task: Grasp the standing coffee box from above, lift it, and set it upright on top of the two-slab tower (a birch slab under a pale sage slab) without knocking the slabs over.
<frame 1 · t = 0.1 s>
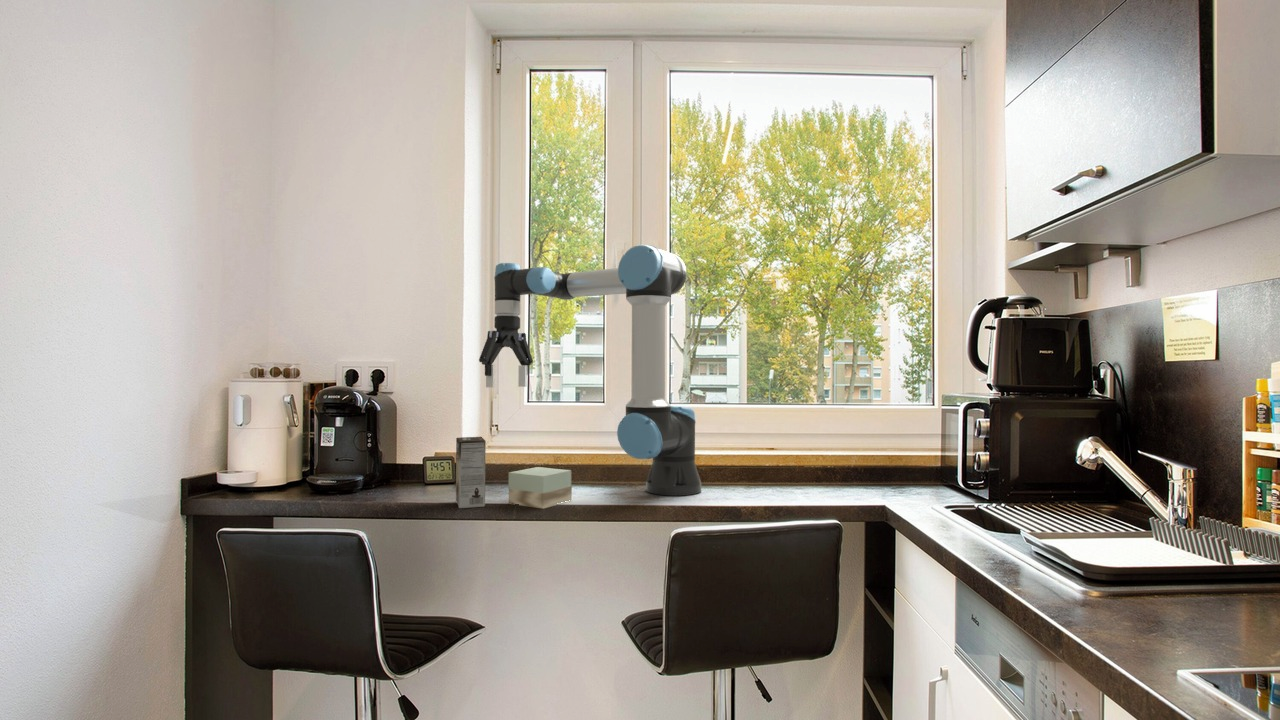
hand: (506, 387, 188), 28 cm above the worktop, tool pointing down, fingers open, 13 cm apart
slab bottom: (540, 503, 158), on the worktop, touching slab top
slab top: (540, 487, 158), point 4 cm above the worktop, touching slab bottom
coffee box: (470, 504, 155), on the worktop
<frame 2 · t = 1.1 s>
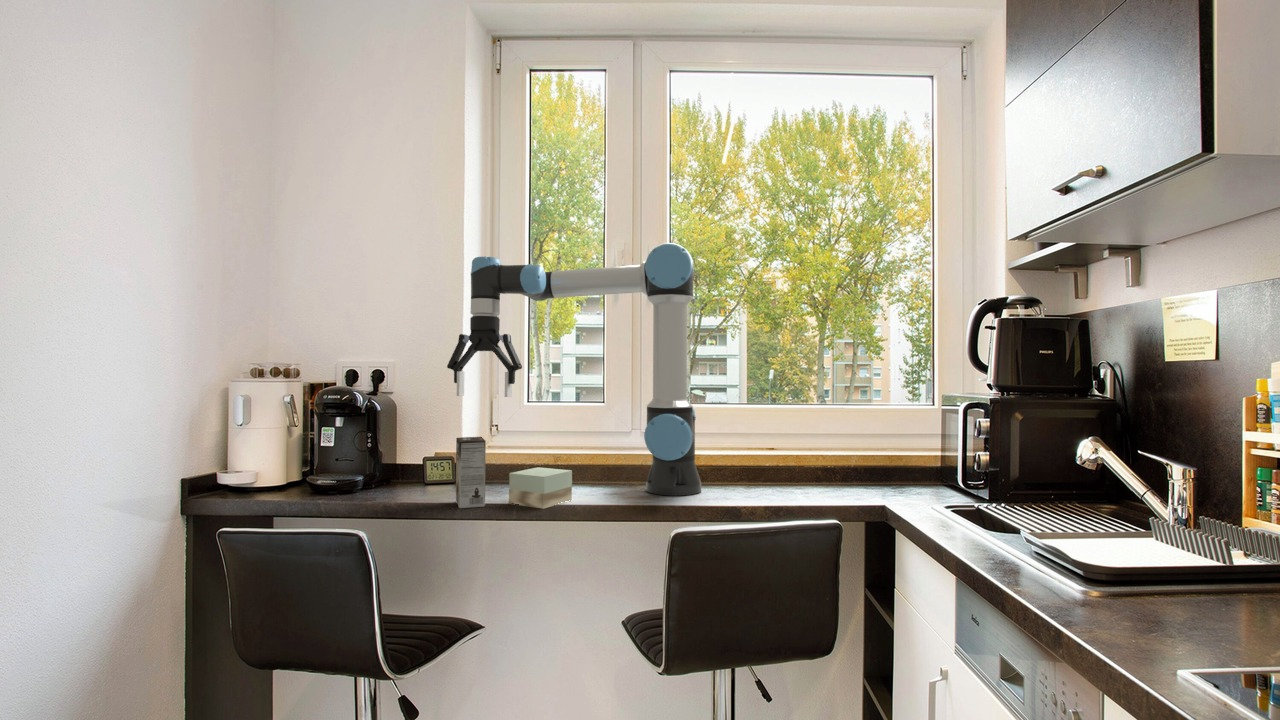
hand: (484, 396, 167), 26 cm above the worktop, tool pointing down, fingers open, 13 cm apart
nothing on the worktop moved.
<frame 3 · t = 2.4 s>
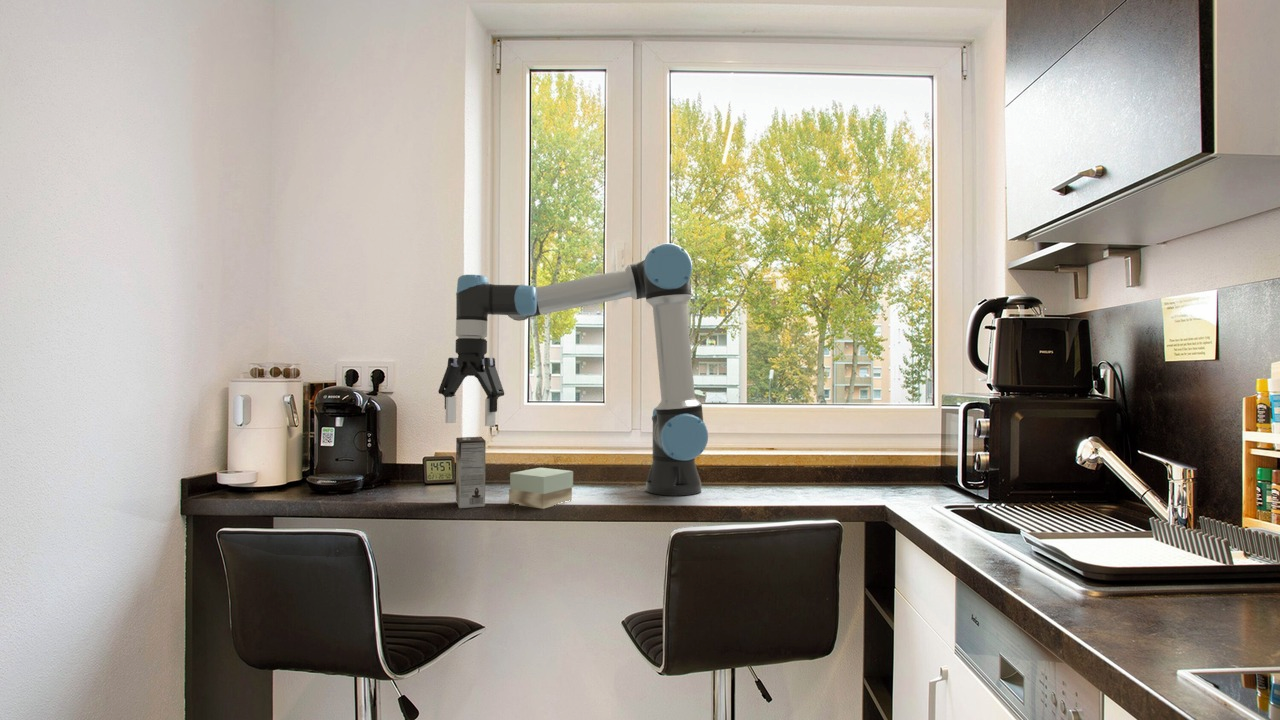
hand: (469, 424, 156), 19 cm above the worktop, tool pointing down, fingers open, 13 cm apart
nothing on the worktop moved.
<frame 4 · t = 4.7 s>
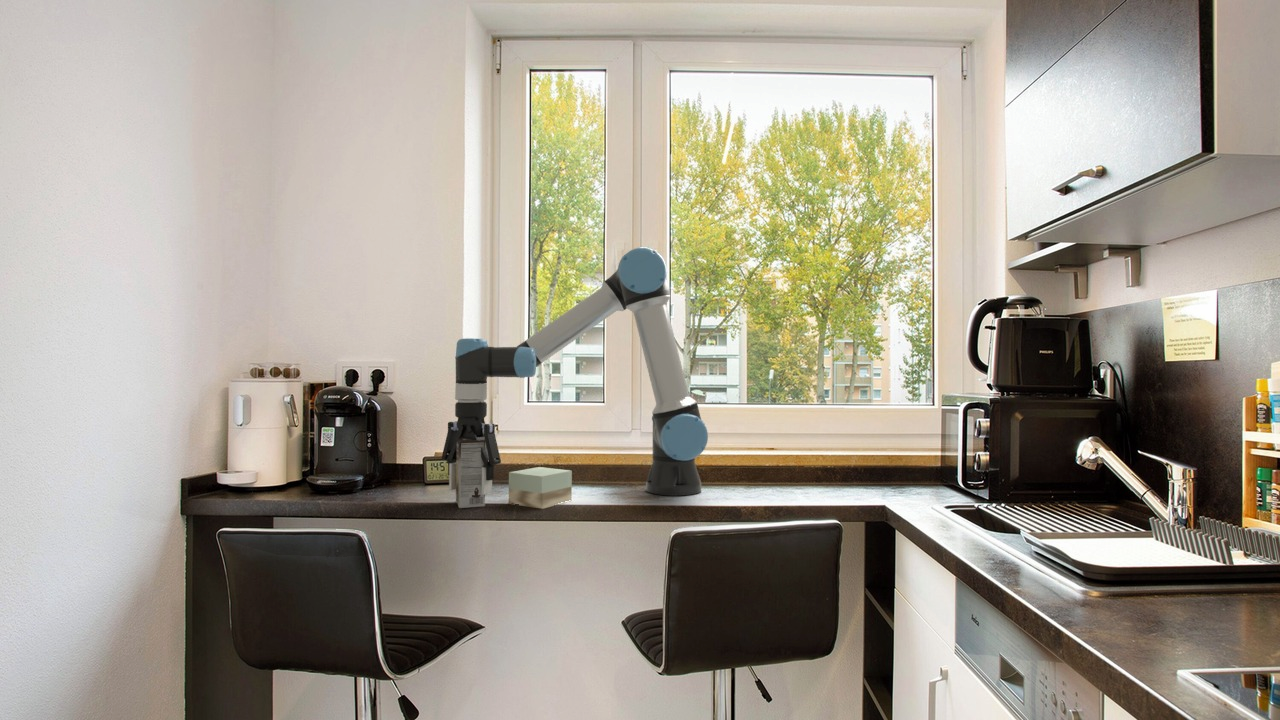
hand: (470, 491, 155), 3 cm above the worktop, tool pointing down, fingers closed on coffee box, 10 cm apart
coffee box: (470, 504, 155), on the worktop, touching gripper
everything else where it was.
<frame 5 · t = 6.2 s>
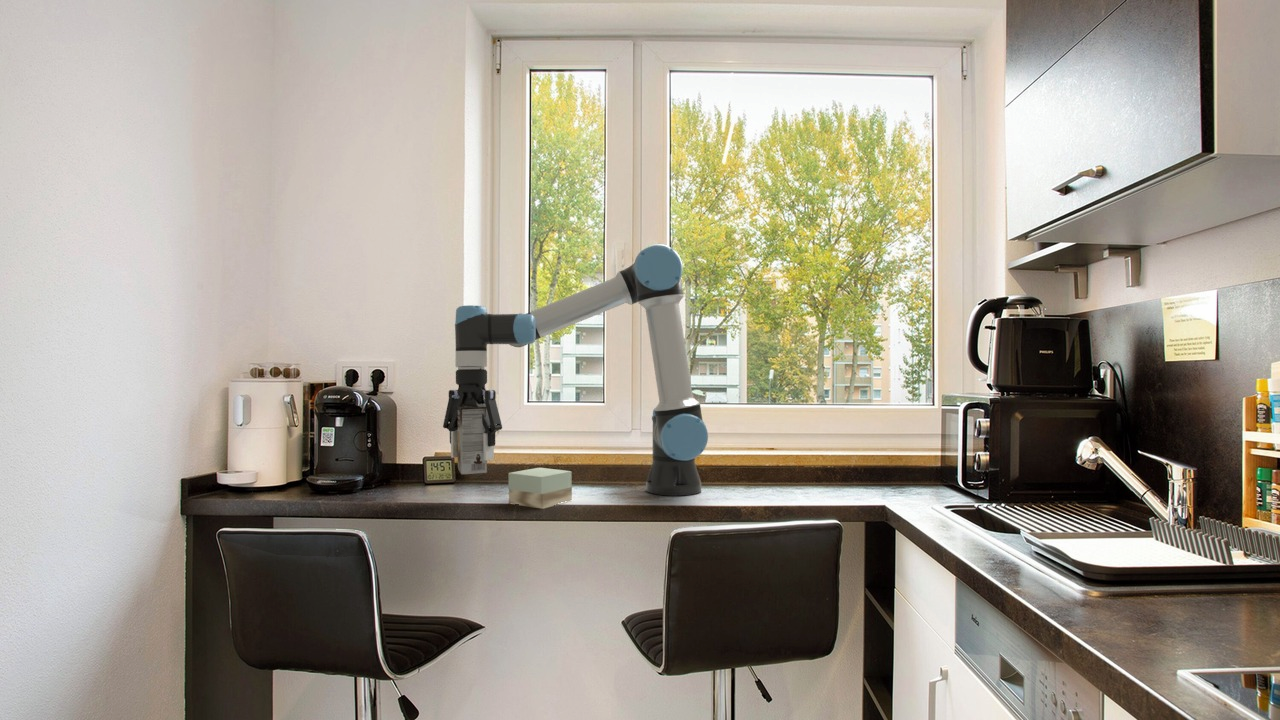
hand: (472, 458, 155), 11 cm above the worktop, tool pointing down, fingers closed on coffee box, 10 cm apart
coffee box: (472, 471, 155), point 8 cm above the worktop, touching gripper
everything else where it was.
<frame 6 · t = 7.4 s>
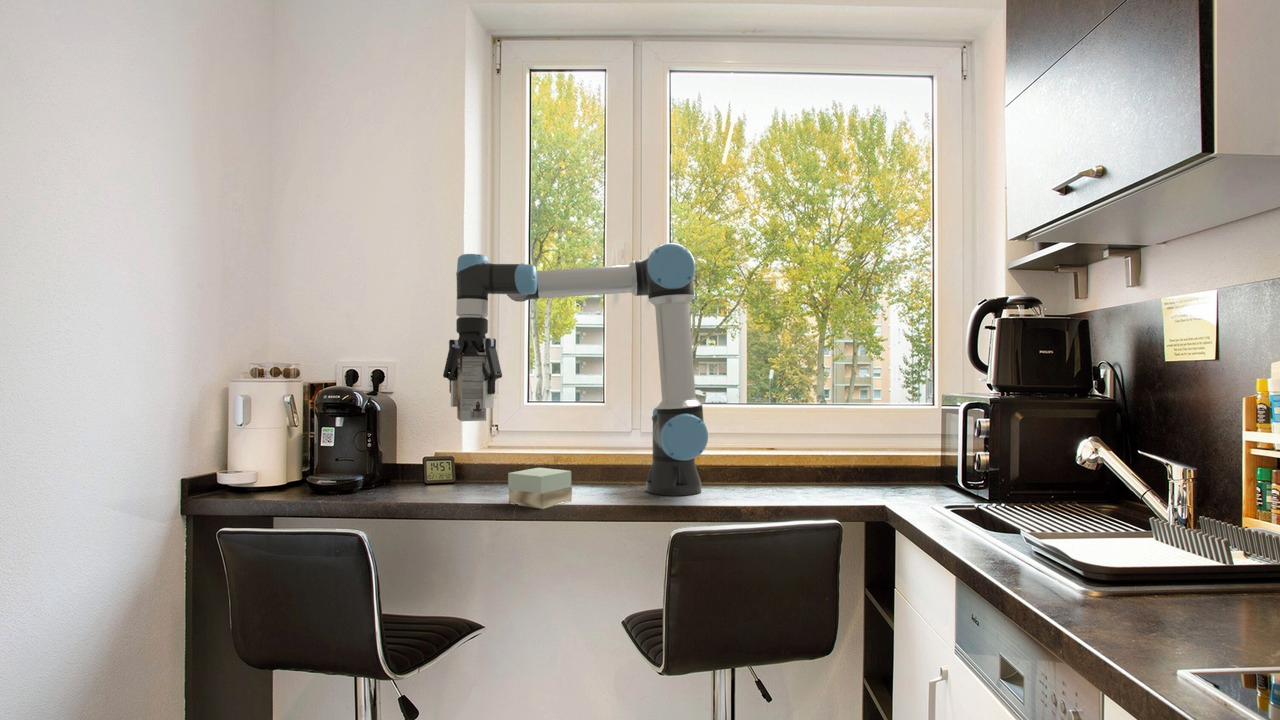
hand: (471, 407, 156), 24 cm above the worktop, tool pointing down, fingers closed on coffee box, 10 cm apart
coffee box: (471, 420, 156), point 20 cm above the worktop, touching gripper
everything else where it was.
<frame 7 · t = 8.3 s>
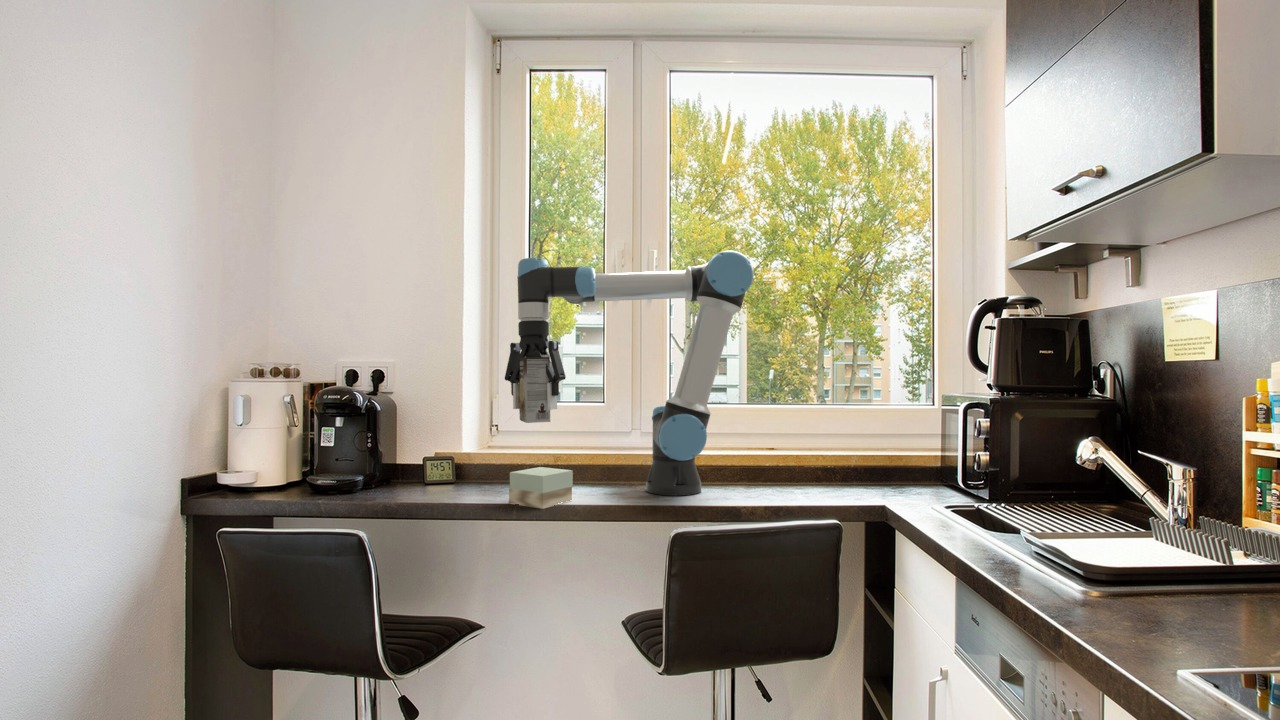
hand: (534, 409, 158), 23 cm above the worktop, tool pointing down, fingers closed on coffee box, 10 cm apart
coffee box: (534, 422, 158), point 20 cm above the worktop, touching gripper
everything else where it was.
when the fingers open (12 cm above the worktop, at t = 11.4 s): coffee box drops 2 cm, resting on slab top.
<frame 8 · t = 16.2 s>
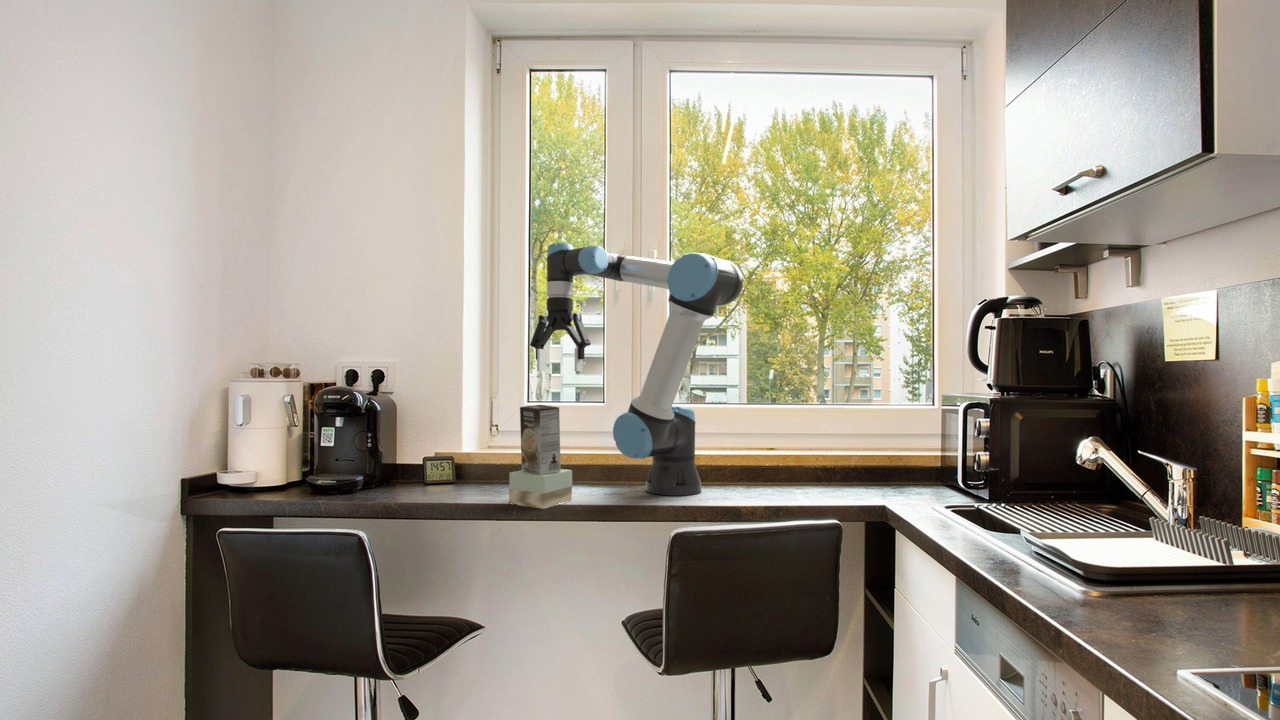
hand: (559, 371, 182), 33 cm above the worktop, tool pointing down, fingers open, 13 cm apart
slab top: (541, 487, 158), point 4 cm above the worktop, touching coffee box, slab bottom
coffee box: (541, 471, 157), point 8 cm above the worktop, touching slab top
everything else where it was.
at the end: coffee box inside the target area on the slab top (0.4 cm from its centre), point 3.9 cm above the slab top's base; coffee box tilted 3°; slab top 0.2 cm off-centre on the slab bottom, point 4.0 cm above the slab bottom's base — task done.
